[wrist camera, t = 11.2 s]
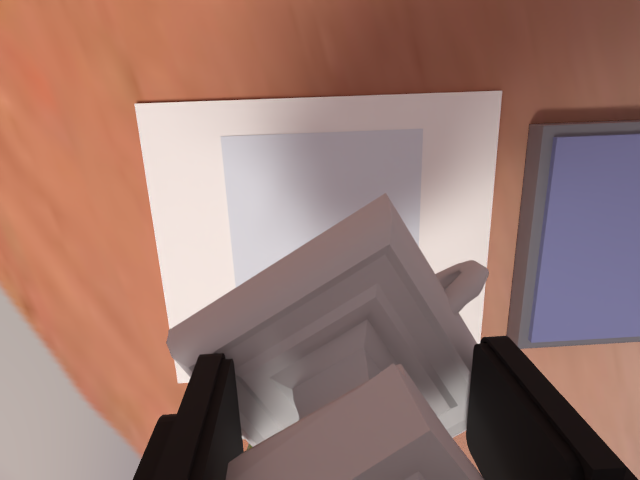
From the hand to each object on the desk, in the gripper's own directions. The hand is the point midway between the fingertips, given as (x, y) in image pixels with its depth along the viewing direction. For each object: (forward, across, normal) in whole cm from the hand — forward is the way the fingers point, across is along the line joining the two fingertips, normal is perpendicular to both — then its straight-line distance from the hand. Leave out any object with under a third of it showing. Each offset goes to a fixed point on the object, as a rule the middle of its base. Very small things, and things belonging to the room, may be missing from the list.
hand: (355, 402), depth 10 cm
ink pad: (+12, -14, 0) cm, 18 cm away
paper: (+12, 0, 0) cm, 12 cm away
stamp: (+4, 0, 0) cm, 4 cm away
